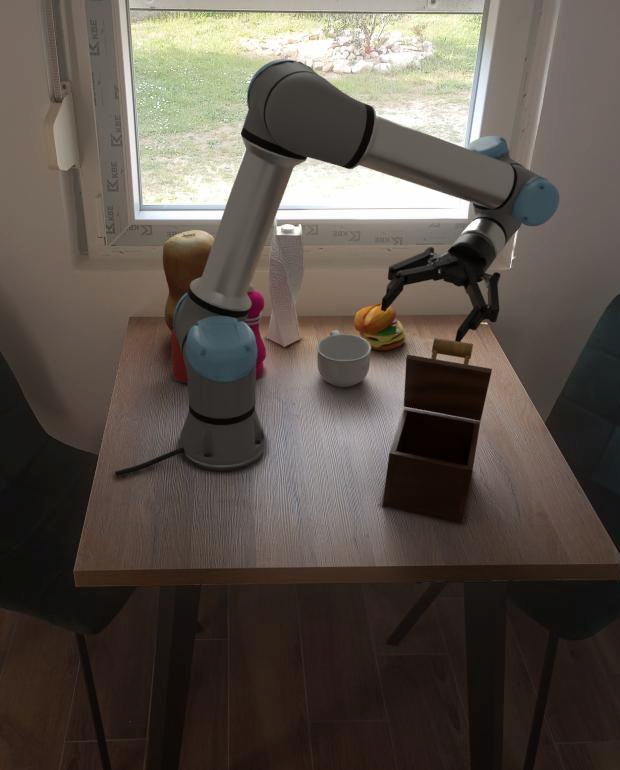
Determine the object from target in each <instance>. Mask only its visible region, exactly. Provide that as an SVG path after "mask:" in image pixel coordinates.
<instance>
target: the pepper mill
mask: <svg viewBox="0 0 620 770" xmlns="http://www.w3.org/2000/svg"><path fill="white" fill-rule="evenodd" d="M247 294H248V296H249V298H250V300H251V303H252V305H251V308H250V310H249V313H248V316H247V319H246V321H245V324H247V325H248V326H249V327H250V328H251V329H252V331H253V333H254V335H255V338H256V345H257V359H256V379H257V378H260V377H261V376H262V375H263V374H264V361H265V359H266V357H267V349H266V346H265V343H264V341H263V338H262V336H261V332H260V323H261V322H262V311H263V310H264V307H265V299H264V296H263V295H262V293H261V292H260V291H258V290H256V289H255V286H254V285H253V284H252V283H251V284H250V286H249V289H248V292H247Z"/></svg>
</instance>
